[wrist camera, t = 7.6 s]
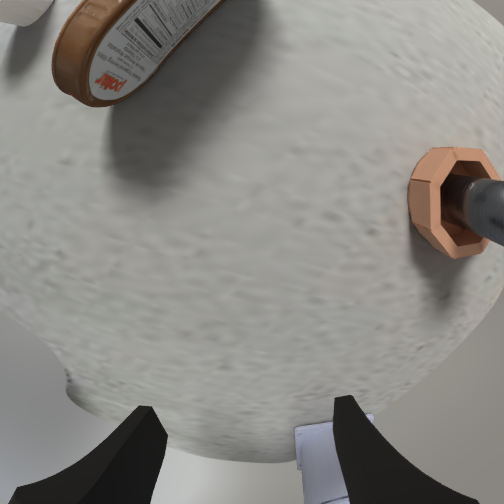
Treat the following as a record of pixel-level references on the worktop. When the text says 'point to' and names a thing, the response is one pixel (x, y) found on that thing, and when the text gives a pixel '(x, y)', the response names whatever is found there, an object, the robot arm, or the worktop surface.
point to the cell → (474, 205)
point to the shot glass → (22, 11)
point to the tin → (120, 45)
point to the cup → (428, 198)
